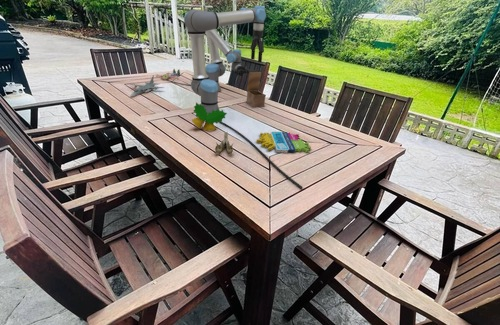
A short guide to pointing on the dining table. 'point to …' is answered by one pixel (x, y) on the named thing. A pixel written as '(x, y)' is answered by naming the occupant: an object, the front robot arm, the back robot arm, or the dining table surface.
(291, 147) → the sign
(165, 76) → the toy
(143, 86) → the airplane
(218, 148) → the jawbone
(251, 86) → the lid
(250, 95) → the chest
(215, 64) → the back robot arm
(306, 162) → the dining table surface
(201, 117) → the ornament
